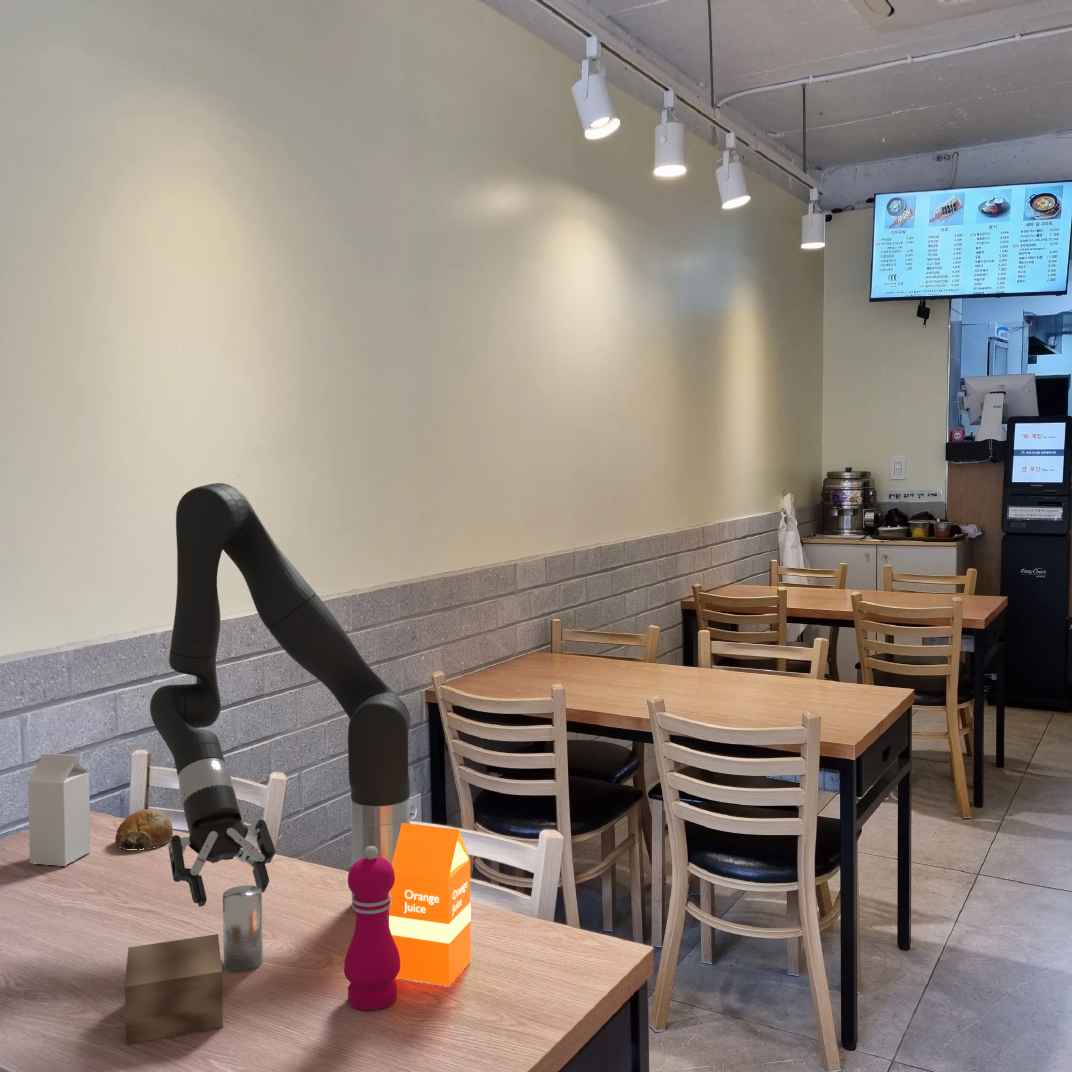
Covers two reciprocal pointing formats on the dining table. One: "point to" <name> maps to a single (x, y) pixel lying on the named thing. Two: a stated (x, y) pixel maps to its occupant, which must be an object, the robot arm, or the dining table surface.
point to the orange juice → (431, 903)
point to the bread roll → (144, 830)
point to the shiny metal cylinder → (242, 928)
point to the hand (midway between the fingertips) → (233, 897)
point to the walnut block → (173, 988)
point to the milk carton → (58, 810)
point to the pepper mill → (371, 935)
